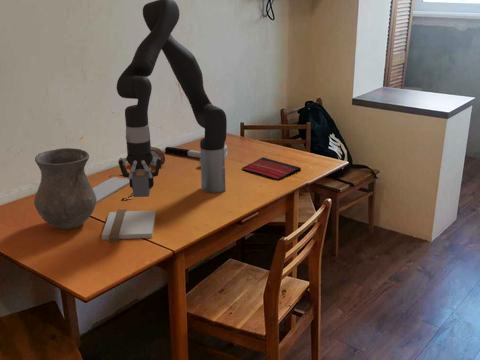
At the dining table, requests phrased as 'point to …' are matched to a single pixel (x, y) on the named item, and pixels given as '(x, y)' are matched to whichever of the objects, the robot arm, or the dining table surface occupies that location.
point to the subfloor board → (129, 225)
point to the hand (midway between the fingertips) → (141, 187)
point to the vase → (64, 188)
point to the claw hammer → (189, 152)
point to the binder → (271, 168)
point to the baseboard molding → (109, 187)
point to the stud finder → (140, 183)
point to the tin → (157, 153)
